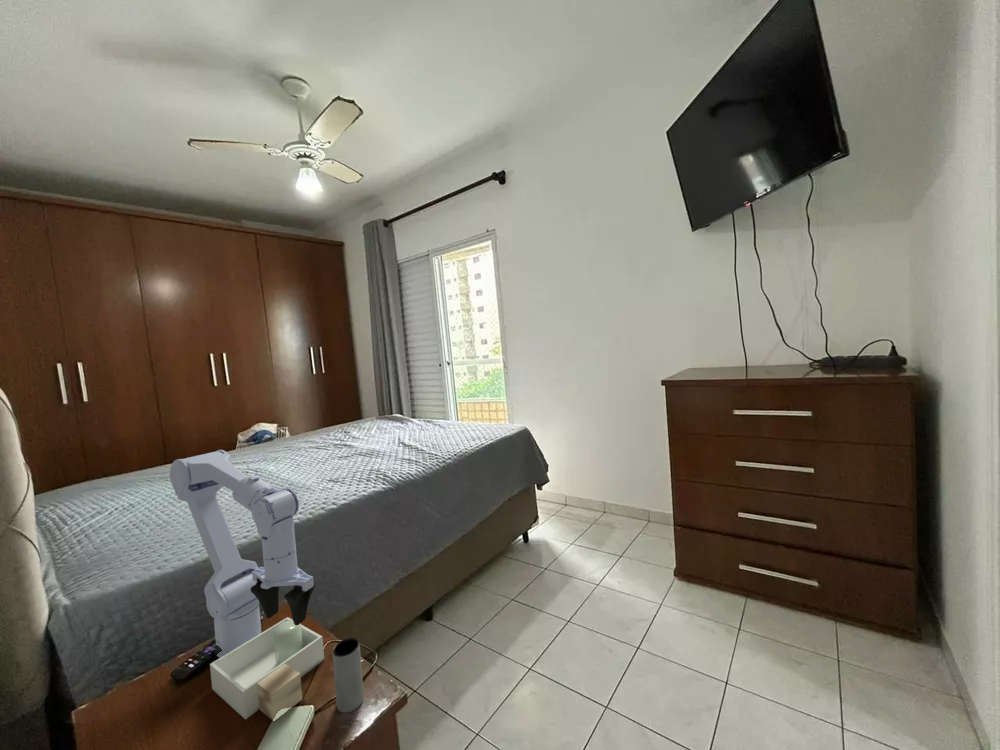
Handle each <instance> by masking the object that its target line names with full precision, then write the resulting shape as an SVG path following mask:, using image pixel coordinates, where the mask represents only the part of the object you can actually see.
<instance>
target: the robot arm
mask: <svg viewBox="0 0 1000 750" xmlns="http://www.w3.org/2000/svg"><path fill="white" fill-rule="evenodd" d="M169 479H170V483H171V485H172V487H173V488H172V489H173V490H174V493H175V496H177V499H178V501H182V502H186V503H187V506H188V508H189V511H190V514H191V515H192V518H193V521H194V523H195V526H196V529H197V530H198V533H199V536H200V539H201V540H202V544H203V546H204V549H205V550H206V554H207V555H208V558H209V561H210V563H211V565H212V568H213V571H214V573H213V574H212V575H211V577H210V579H209V580H208V582H207V583H206V585H205V586H204V589H203V593H204V596H205V598H206V600H205V601H206V608H207V612H208V614H209V615H210V616H211V617H212V618H213V619H214V620H213V626H214V637H215V646H216V645H217V646H219V647H220V648H221V650H222V651H221V652H219V653H218V654H217V655H216V657H218V659H219V658H221V657H223V656H224V655H226V654H228V653H229V652H231V651H232V650H234V649H236V648H237V647H239V646H241V645H242V644H244V643H246V642H247V641H249V640H251V639H252V638H254V637H256V636H257V635H259V634H261V633H262V623H261V613H260V605H261V608H262V610H263V613H264V615H265V617H266V619H270V618H272V617H273V616H276V615H277V613H279V605H280V602H279V594H280V593H279V591H280V587H289V586H290V587H292V589H291V590H290V591H288V592H287V593H285V594H284V595H283V598H284V599H285V600H286V602H287V603H288V604H287V605H289V609H290V611H291V619H292V620H293V622H294V625H299V624H301V623H303V622H304V621H305V620H306V617H307V610H308V607H309V603H310V599H311V596H312V594H313V591H314V589H315V587H316V582H315V581H314V576H312V575H309V574H307V572H305V571H304V570H303V569H301V568H300V567H298V558H297V557H298V556H297V545H296V534H295V522H294V516H295V515H296V514H297V513H298V512H299V508H300V503H299V499H298V496H297V494H296V493H295V492H294V491H293V490H292V489H291V488H289V487H285V488H282V487H281V488H276V487H275V486H273V485H271V484H270V483H268V482H267V481H265V480H264V479H263V478H260V476H258V475H256V474H255V475H248V476H247V475H245V474H244V473H243V472H242V471H240V469H238V467H236V466H235V465H234V464H233V460H232V457H231V454H230V453H227V451H226V450H223V449H217V450H216V451H212V452H208V453H204V454H198V455H194V456H190V457H186V458H179V459H178V458H177V459H175V460H174V461H172V464H171V466H170V470H169ZM222 488H226V489H228V490H230V491H232V494H231V495H232V498H233V500H234V501H235V502H236V503H238V504H239V505H241V506H242V507H244V508H245V509H247V510H248V511H250V512H251V516H252V517H251V518H252V519H253V522H254V523H255V526H256V530H257V533H258V536H260V537H261V549H262V559H263V566H259V567H258V563H257V562H256V561H254V560H248V559H243V558H242V557H241V554H240V552H239V550H238V547H237V546H236V543H235V541H234V537H233V535H232V532H231V530H230V528H229V526H228V523H227V520H226V518H225V516H224V514H223V511H222V509H221V506H220V503H219V501H218V498H217V496H216V495H217V492H218V491H220V490H221V489H222ZM235 577H236V578H235ZM231 579H232V580H231ZM229 580H230V581H229Z"/></svg>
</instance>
